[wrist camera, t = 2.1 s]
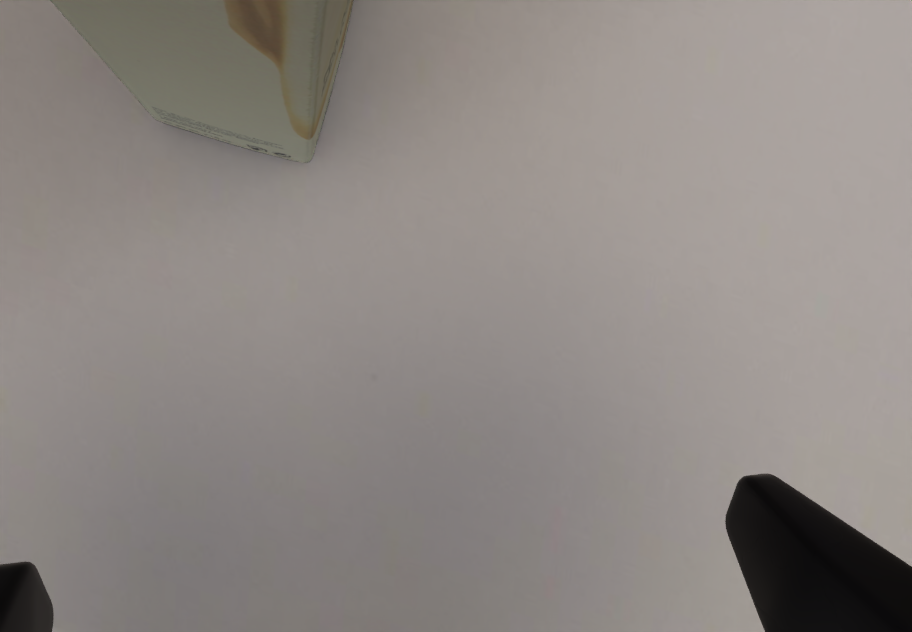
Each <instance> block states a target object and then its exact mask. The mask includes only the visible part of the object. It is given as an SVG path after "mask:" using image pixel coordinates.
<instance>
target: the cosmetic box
mask: <svg viewBox="0 0 912 632" xmlns="http://www.w3.org/2000/svg"><path fill="white" fill-rule="evenodd" d="M50 1H51V2H52V3H53V4H54V5H55V6H56V7H57V8H58V10H59V11H60V12H61V13H62V15H63V16H64V17H65V18H66V19H67V20H68V21H69V22H70V24H71V25H72V26H73V27H74V28H75V29H76V30H77V31H78V32H79V34H80V35H81V36H82V37H83V38H84V39H85V40H86V41H87V42H88V43H89V45H90V46H91V47H92V48H93V49H94V51H95V52H96V53H97V54H98V55H99V56H100V57H101V59H102V60H103V61H104V62H105V63H106V64H107V66H108V67H109V68H110V69H111V70H112V71H113V72H114V73H115V75H116V76H117V77H118V78H119V79H120V80H121V81H122V83H123V84H124V85H125V86H126V87H127V88H128V89H129V91H130V92H131V93H132V94H133V95H134V96H135V97H136V98H137V99H138V101H139V102H140V103H141V104H142V105H143V106H144V108H145V109H146V110H147V111H148V112H149V113H150V114H151V116H152V117H153V118H154V119H156V120H157V121H160V122H163V123H166V124H169V125H172V126H175V127H178V128H181V129H184V130H187V131H191V132H194V133H197V134H200V135H203V136H207V137H210V138H213V139H216V140H220V141H223V142H226V143H230V144H233V145H236V146H240V147H243V148H247V149H250V150H254V151H257V152H261V153H265V154H269V155H273V156H277V157H281V158H285V159H289V160H293V161H297V162H302V163H308V162H309V161H310V160H311V159H312V157H313V154H314V151H315V148H316V144H317V141H318V137H319V134H320V130H321V127H322V124H323V121H324V117H325V114H326V110H327V107H328V103H329V100H330V96H331V92H332V88H333V85H334V81H335V77H336V73H337V70H338V66H339V62H340V58H341V54H342V50H343V46H344V42H345V37H346V33H347V28H348V24H349V19H350V15H351V10H352V5H353V1H354V0H50Z"/></svg>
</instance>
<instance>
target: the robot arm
mask: <svg viewBox="0 0 912 632" xmlns="http://www.w3.org/2000/svg"><path fill="white" fill-rule="evenodd" d="M725 522H726V530H727V533H728V536H729V539H730V542H731V544H732V547H733V549H734V552H735V555H736V557H737V560H738V563H739V565H740V568H741V570H742V573H743V576H744V578H745V581H746V584H747V586H748V589H749V591H750V594H751V597H752V599H753V602H754V605H755V607H756V610H757V613H758V615H759V618H760V620H761V623H762V625H763V628H764V630H765V632H912V567H911V566H910V565H908V564H907V563H905V562H904V561H902V560H901V559H899V558H898V557H896V556H895V555H893V554H892V553H890V552H889V551H887V550H886V549H884V548H883V547H881V546H880V545H878V544H877V543H875V542H874V541H872V540H871V539H869V538H868V537H866V536H865V535H863V534H862V533H860V532H859V531H857V530H856V529H854V528H853V527H851V526H850V525H848V524H847V523H845V522H844V521H842V520H841V519H839V518H838V517H836V516H835V515H833V514H832V513H830V512H829V511H827V510H826V509H824V508H823V507H821V506H820V505H818V504H817V503H815V502H814V501H812V500H811V499H809V498H808V497H806V496H805V495H803V494H802V493H800V492H799V491H797V490H796V489H794V488H793V487H791V486H790V485H788V484H787V483H785V482H784V481H782V480H781V479H779V478H777V477H776V476H774V475H771V474H758V475H749V476H744V477H742V478H741V479H740V480H739V482H738V484H737V486H736V489H735V492H734V494H733V497H732V500H731V503H730V505H729V508H728V511H727V514H726V521H725ZM52 627H53V606H52V602H51V600H50V597H49V595H48V593H47V591H46V588H45V586H44V584H43V582H42V579H41V577H40V575H39V572H38V570H37V568H36V567H35V565H34V564H32V563H31V562H18V563H10V564H1V565H0V632H52Z"/></svg>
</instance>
